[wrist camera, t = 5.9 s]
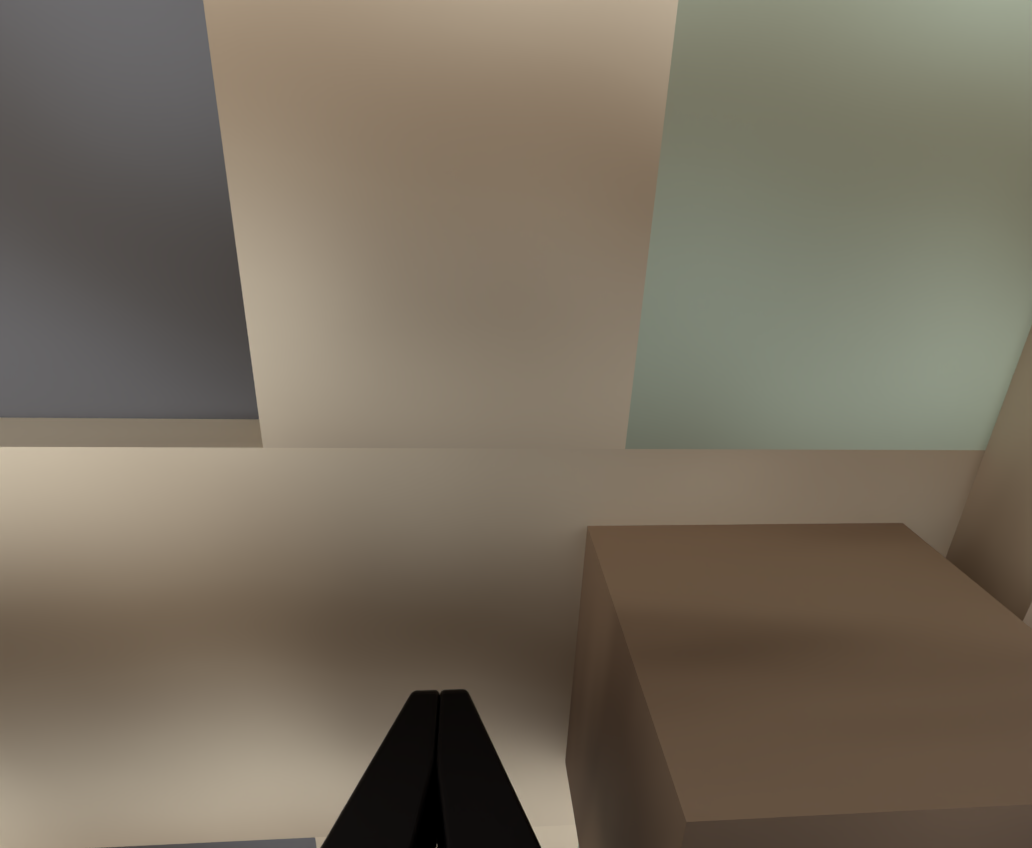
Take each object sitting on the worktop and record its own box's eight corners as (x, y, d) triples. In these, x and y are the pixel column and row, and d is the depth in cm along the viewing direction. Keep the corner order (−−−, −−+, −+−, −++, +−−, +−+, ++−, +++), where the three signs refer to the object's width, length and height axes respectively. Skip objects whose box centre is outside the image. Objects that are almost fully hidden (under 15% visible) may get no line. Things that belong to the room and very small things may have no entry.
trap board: (794, 945, 16) (854, 1086, 14) (30, 996, 15) (-59, 1166, 12) (1173, -97, 8) (1511, -223, 5) (-566, -246, 6) (-1278, -530, 4)
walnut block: (827, 750, 12) (1031, 1080, 7) (565, 762, 11) (623, 1116, 7) (902, 522, 10) (1233, 793, 5) (587, 525, 9) (686, 823, 5)
